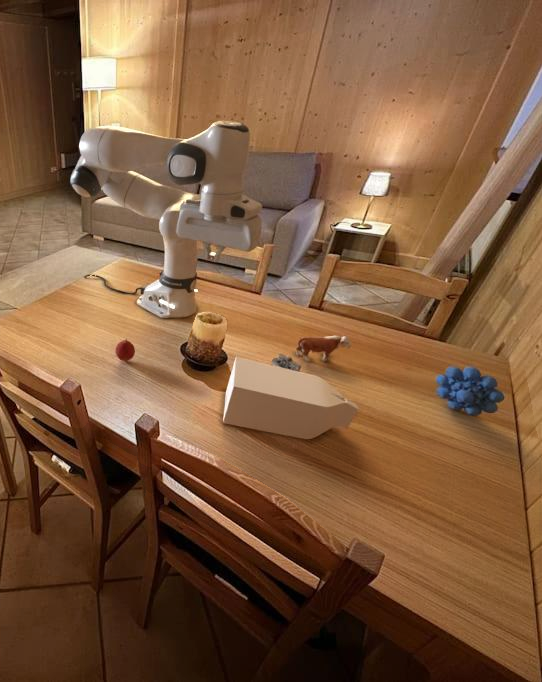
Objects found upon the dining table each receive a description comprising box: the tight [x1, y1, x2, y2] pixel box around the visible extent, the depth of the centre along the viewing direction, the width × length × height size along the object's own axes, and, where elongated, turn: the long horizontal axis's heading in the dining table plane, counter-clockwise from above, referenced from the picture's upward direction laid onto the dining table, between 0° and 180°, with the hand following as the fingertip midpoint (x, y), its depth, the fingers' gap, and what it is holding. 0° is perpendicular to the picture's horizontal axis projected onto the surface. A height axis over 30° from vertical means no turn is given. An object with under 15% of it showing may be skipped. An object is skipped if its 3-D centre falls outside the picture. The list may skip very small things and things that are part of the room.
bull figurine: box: [295, 334, 353, 362], centre depth 102 cm, size 4×13×8 cm, turn 79°
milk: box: [222, 356, 359, 440], centre depth 83 cm, size 12×12×26 cm
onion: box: [115, 338, 136, 362], centre depth 107 cm, size 6×6×8 cm
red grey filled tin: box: [271, 353, 302, 372], centre depth 92 cm, size 8×3×10 cm, turn 23°
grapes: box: [434, 365, 505, 417], centre depth 82 cm, size 12×7×12 cm, turn 40°
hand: (211, 260), depth 90 cm, fingers closed
